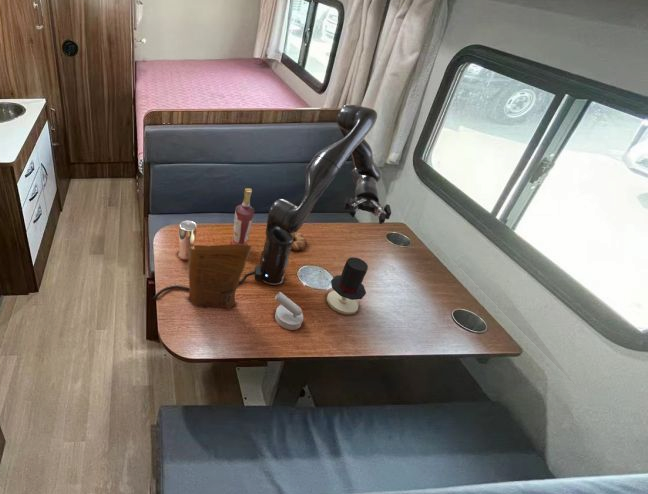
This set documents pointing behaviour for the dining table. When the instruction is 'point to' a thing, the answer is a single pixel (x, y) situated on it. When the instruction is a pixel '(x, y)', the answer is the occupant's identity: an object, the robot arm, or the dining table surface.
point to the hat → (351, 279)
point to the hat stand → (342, 303)
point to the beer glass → (186, 238)
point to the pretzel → (298, 241)
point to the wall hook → (288, 313)
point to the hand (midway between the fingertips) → (367, 218)
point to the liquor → (243, 220)
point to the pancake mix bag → (216, 273)
